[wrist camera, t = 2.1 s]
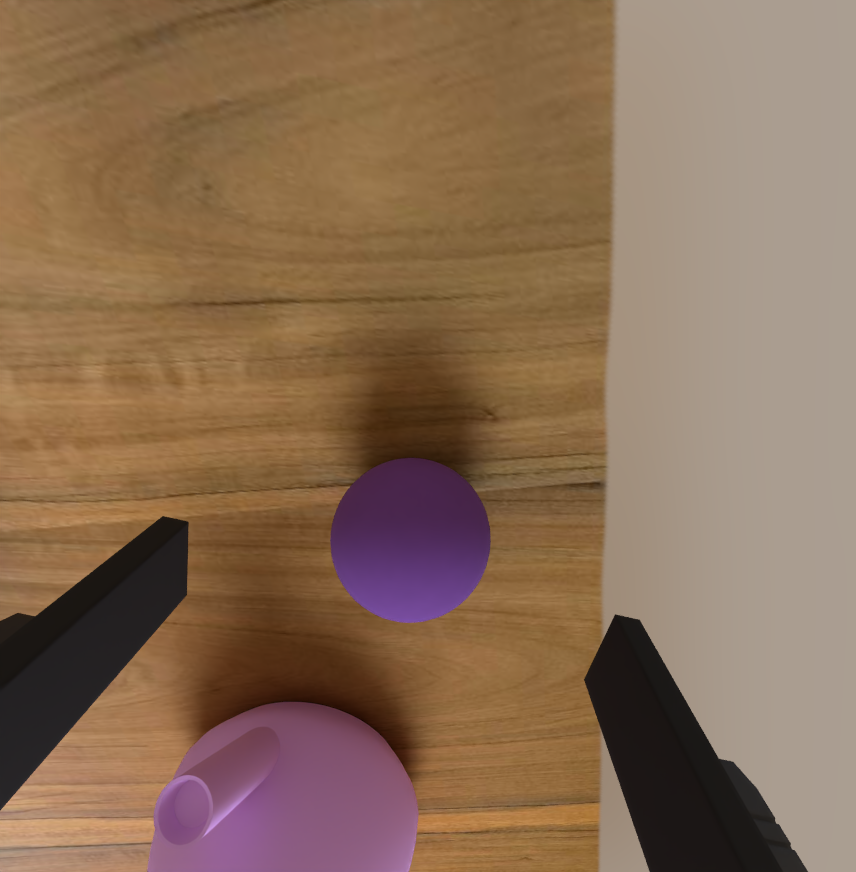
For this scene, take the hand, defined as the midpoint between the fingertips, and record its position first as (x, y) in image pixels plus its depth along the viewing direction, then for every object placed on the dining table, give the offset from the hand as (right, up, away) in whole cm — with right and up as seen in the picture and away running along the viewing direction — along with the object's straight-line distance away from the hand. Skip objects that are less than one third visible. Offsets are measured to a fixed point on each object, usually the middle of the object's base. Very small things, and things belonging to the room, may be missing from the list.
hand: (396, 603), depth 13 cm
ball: (+1, +2, +6) cm, 6 cm away
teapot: (-6, -14, +13) cm, 20 cm away
